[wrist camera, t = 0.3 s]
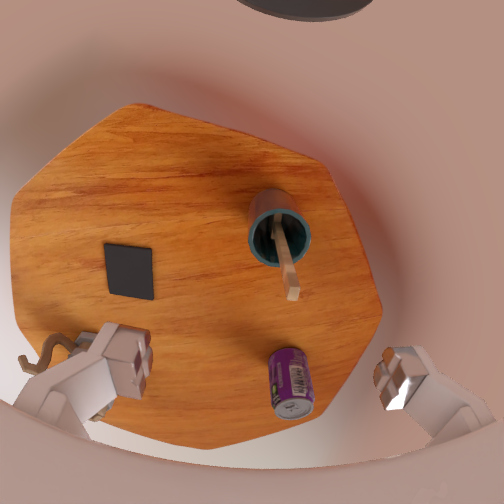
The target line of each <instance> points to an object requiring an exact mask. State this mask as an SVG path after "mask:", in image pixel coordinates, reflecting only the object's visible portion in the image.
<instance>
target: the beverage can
mask: <svg viewBox="0 0 504 504" xmlns="http://www.w3.org/2000/svg"><path fill="white" fill-rule="evenodd" d="M268 367H269V381H270V395H271V405H272V407H273V409H274V410H275V415H276V416H277V417H279V418H281V419H285V420H296V419H300V418H303V417H305V416H307V415H309V414H310V413H311V412H312V411H313V408H314V406H313V403H314V400H315V396H314V391H313V386H312V381H311V376H310V372H309V367H308V362H307V357H306V355H305V354H304V352H302V351H301V350H299V349H295V348H285V349H281V350H279V351H276V352H275V353H274V354H272V355H271V357H270V358H269V361H268Z"/></svg>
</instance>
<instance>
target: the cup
mask: <svg viewBox="0 0 504 504" xmlns="http://www.w3.org/2000/svg"><path fill="white" fill-rule="evenodd" d="M276 213H282V219H281V225H282V228H283V231H284V235H285V238H286V241H287V244H288V248H289V251H290V254H291V258H292V261H293V264H294V263H296V262H297V261H298V260H300V259H301V258H303V256H304V255H305V253H306V252H307V250H308V249H309V246H310V241H311V233H310V228H309V225H308V223H307V221H306V220H305V218H304V216H303V214H302V213H301V211H300V209H299V207H298V206H297V204H296V202H295V201H294V200H293V198H292V197H291V196H290V195H289V194H288V193H286V192H285V191H283V190H280V189H267V190H264V191H262V192H260V193H258V194H257V195H256V196H255V197H254V198H253V200H252V201H251V203H250V206H249V214H248V243H249V246H250V250H251V252H252V254H253V255H254V256H255V257H256V258H257V259H258V261H260V262H262V263H264V264H266V265H268V266H271V267H280V263H279V258H278V253H277V249H276V244H275V239H271V237H270V231H269V226H268V223H269V216H270V215H273V214H276Z"/></svg>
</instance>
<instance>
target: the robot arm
mask: <svg viewBox="0 0 504 504" xmlns="http://www.w3.org/2000/svg"><path fill="white" fill-rule="evenodd" d="M150 341H151V335H150V331H149V330H147V329H142V328H137V327H132V326H127V325H123V324H117V323H112V322H106V323H104V325H103V326H102V328H101V330H100V331H99V333H98V335H97V336H96V338H95V339H94V341H93V343H92V344H91V346H90V348H89V349H88V351H87V352H81V353H79V354H77V355H75V356H73V357H71V358H69V359H67V360H65V361H63V362H61V363H59V364H57V365H55V366H53V367H51V368H49V369H47V370H45V371H43V372H41V373H40V374H38V375H36V376H34V377H32V378H30V379H29V380H28V382H27V383H26V385H25V386H24V388H23V389H22V391H21V393H20V394H19V396H18V398H17V399H16V401H15V403H14V404H13V406H12V405H10V404H8V403H6V402H5V401H3V400H1V399H0V504H504V418H502V419H500V420H498V421H496V420H495V418H494V416H493V415H492V413H491V411H490V409H489V408H488V406H487V404H486V403H485V401H484V400H483V399H482V398H480V397H479V396H477V395H476V394H474V393H472V392H471V391H469V390H468V389H467V388H465V387H463V386H462V385H460V384H459V383H457V382H456V381H454V380H453V379H451V378H450V377H448V376H447V375H445V374H443V373H439V371H438V369H437V368H436V366H435V365H434V363H433V361H432V360H431V358H430V357H429V355H428V354H427V352H426V351H425V349H424V347H422V346H421V345H418V346H406V347H388V348H387V349H385V350H384V352H383V354H382V357H383V360H382V361H381V362H379V363H378V364H377V366H376V368H375V370H374V376H373V379H374V384H375V387H376V388H377V389H378V390H379V391H380V392H381V394H380V399H381V402H382V404H383V407H384V410H393V409H401V408H404V409H403V410H405V411H406V412H407V413H408V414H409V415H410V416H411V417H412V418H413V419H414V420H415V421H416V422H417V423H418V424H419V425H420V426H421V427H422V428H423V429H424V430H425V431H426V432H427V433H428V434H429V435H430V436H431V437H433V439H432V440H431V441H430V442H429V443H428V444H427V445H426V446H425V448H423V449H419V450H416V451H412V452H408V453H404V454H400V455H396V456H391V457H386V458H381V459H376V460H370V461H365V462H359V463H352V464H344V465H336V466H326V467H316V468H315V467H314V468H298V469H247V468H229V467H217V466H208V465H200V464H192V463H185V462H179V461H173V460H167V459H162V458H157V457H152V456H148V455H143V454H139V453H135V452H131V451H127V450H123V449H119V448H116V447H112V446H109V445H106V444H102V443H99V442H96V441H93V440H91V439H90V437H89V435H88V433H87V432H86V430H85V428H84V427H83V425H82V424H83V423H85V422H86V421H87V420H88V419H90V418H91V417H92V416H94V415H95V414H96V413H97V412H99V411H100V410H101V409H102V408H104V407H105V406H106V405H107V404H108V403H110V402H111V401H112V400H113V399H115V398H116V397H117V395H119V396H124V397H129V398H134V399H139V400H141V399H142V396H143V393H144V390H145V387H146V382H145V378H146V377H148V376H149V375H150V372H151V369H152V362H153V352H152V348H151V347H150V346H149V343H150Z"/></svg>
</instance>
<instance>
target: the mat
mask: <svg viewBox="0 0 504 504" xmlns="http://www.w3.org/2000/svg"><path fill="white" fill-rule="evenodd" d="M104 250H105V260H106V269H107V278H108V285H109V292H110V294H116V295H122V296H128V297H134V298H140V299H147V300H153V299H154V294H153V274H152V249H150V248H141V247H133V246H124V245H115V244H107V243H105V244H104Z"/></svg>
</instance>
